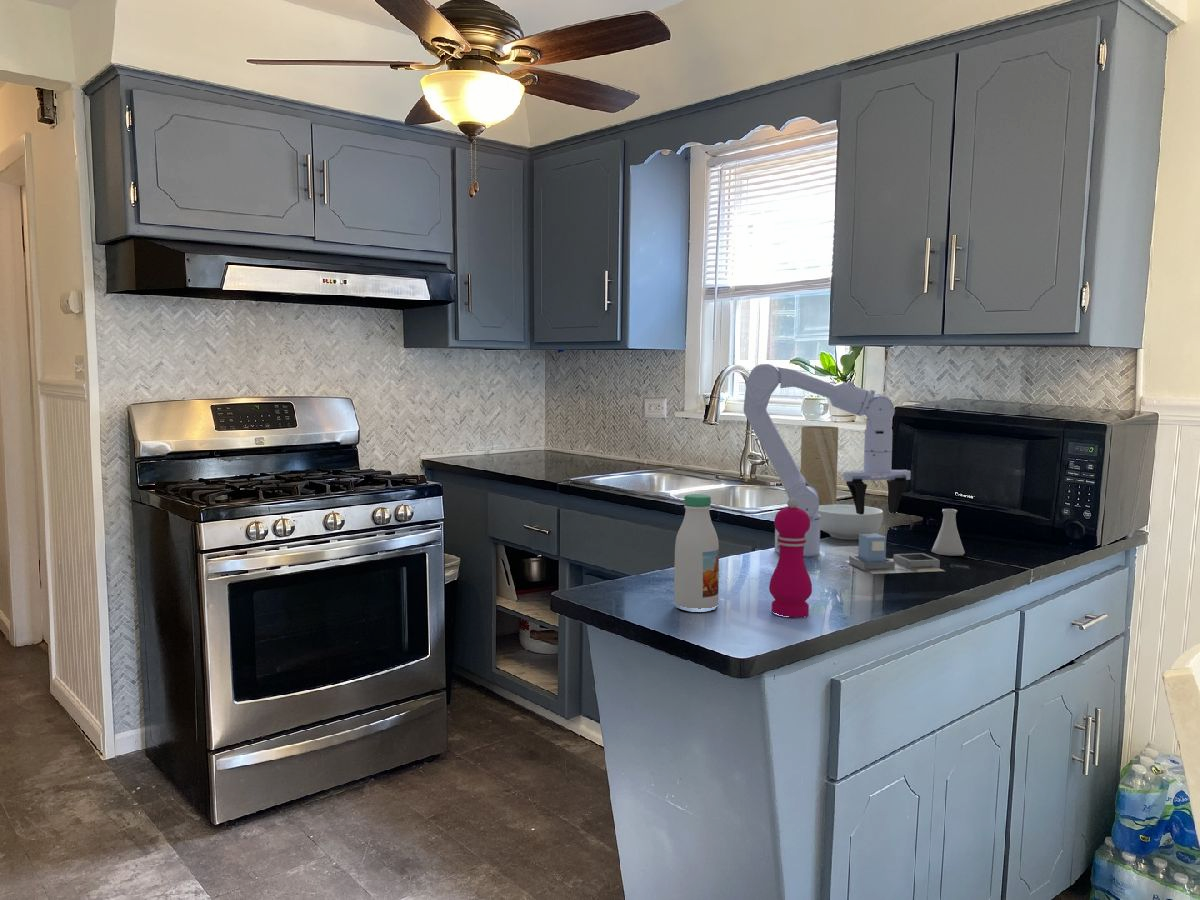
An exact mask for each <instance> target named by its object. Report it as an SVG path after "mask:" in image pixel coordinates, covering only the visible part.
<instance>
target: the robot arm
mask: <svg viewBox="0 0 1200 900" xmlns="http://www.w3.org/2000/svg"><path fill="white" fill-rule="evenodd" d="M746 379H747V380H746V381H745V392H744V403H743V412H744V413H743V414H744V416H745V417H746V419H747V421H748V423H749V425H750V426H751V428H752V431H753V432H754V433H755V436H756V438H757V439H758V441H759V443H760V445H761V447H762V449H763V451H764V452H765V453H766V456H767V457H768V459H769V461H770V463H771V465H772V467H773V469H774V470H775V472H776V474H777V476H778V478H779V479H780V481H781V483H782V486H783V488H784V491H785V493H786V495H787V497H788V500H789V499H791V498H794V499H796V500H797V502H798V506H797V507H796V508H800V509H802V510H804V511H805V512H806V513H807V514H808V516H809V518H810V528H809V530H808V531H807V532H806V533H805V536H806V537H807V539H806V542H807V544H806V545H805V546H804V551H803V555H804V557H809V556H810V557H812V556H818V555H820V551H821V549H820V548H821V546H820V545H821V529H820V517H821V515H819V514H818V513H817V511H818V508H819V496H818V493H817V491H816V490H815V489H814V488H813V487H812V486H810V485H809V484H808V483H807V482H806V480H805V478H804V476H803V475H802V474H801V469H799V467H798V464H797V463H796V462H795V460H794V458H793V456H792V454H791V452H790V450H789V449H788V446H787V445H786V444H785V442H784V440H783V438H782V436H781V434H780V433H779V430H778V429H777V426H776V425H775V423H774V421H773V420H772V418H771V416H770V414H769V412H768V410H767V408H768V405H769V403H770V399H771V396H772V394H773V393H774V391H776V389H777V387H778V385H779V384H780V386H779V388H780V389H786V388H798V389H800V390H803V391H805V392H809V393H813V394H816V395H818V396H821V397H824V398H827V399H828V400H829V401H830V404H831V406H832V407H834V408H837V409H839V410H842V411H845V412H848V413H850V414H854V415H856V416H858V417H861V416H865V417H866V418H865V419H866V421H865V424H866V425H865V429H864V445H863V446H864V448H863V450H864V452H863V469H860V470H850V471H849V470H848V471H844V472H843V473H844V474H843V481H845V482H846V483H845V484H846V486H847V488H848V489H849V491H850V494H851V496H852V499H853V503H854V505H855V507H856V513H858V514H861V515H862V514H864V506H865V497H866V491H867V487H868V485H867V483H864V481H885V480H886V484H887V489H888V512H889V513H892V514H897V512H898V508H899V504H900V502H901V499H902V497H903V496H904V495H903V494H904V493H905V491H906V489H907V488H908V487H909V480H911V470H908V469H892V459H893V457H892V456H893V429H892V427H893V417H894V416H895V412H896V409H895V407H894V403H893V402H892V400H891V399H890V398H888V397H887V396H885V395H882V394H880V393H877V394H876V390H874V389H870V390H869V389H868V390H867V389H865V388H862V387H859V386H855V383H854V382H853V381H850V380H848V381H847V382H845V381H840V382H838V383H836V384H832V383H830V382H827V381H824V380H821V379H820V378H816V377H813V376H811V375H809V374H808V373H807V374H806V373H804V372H801V371H798V370H796V369H793V368H787V367H782V366H778V365H777V366H775V365H773V364H770V363H760V364H758V365H756V366H754V367H753V368H752V370H751V371H750V373H749V375H748V377H747V378H746ZM777 535H779V533H778V531H777V530H776V528H775V527H774V552H777V553H779V552H780V550H779V544H777V539H778V538H777Z"/></svg>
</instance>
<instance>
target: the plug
mask: <svg viewBox="0 0 1200 900" xmlns="http://www.w3.org/2000/svg"><path fill="white" fill-rule="evenodd" d="M886 552H887V536H884V535H882V534H880V533H876V532H874V533H871V534H859V539H858V553H857V554H858V555H857V556H858V559H860V560H862V561H864V562H885V559H886V556H887V555H886V554H887V553H886Z"/></svg>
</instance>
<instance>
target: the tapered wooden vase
mask: <svg viewBox="0 0 1200 900" xmlns="http://www.w3.org/2000/svg"><path fill="white" fill-rule="evenodd" d="M800 437H801V440H800V442H801V443H800V472H801V474H802V475H803V476H804V478H805V480H806V482H807V483H808V484H809V485H810V486H812V487H813V488H814V489H815V490H816V491H817V493H818V496H819V506H821V505H837V493H838V492H837V487H838V486H837V485H838V459H839V458H838V456H839V455H838V453H839V452H838V450H839V427H838V426H827V425H826V426H825V425H824V426H823V425H804V426H801V434H800Z"/></svg>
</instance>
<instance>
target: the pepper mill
mask: <svg viewBox="0 0 1200 900" xmlns="http://www.w3.org/2000/svg"><path fill="white" fill-rule="evenodd" d="M797 506H798V502H797V500H796V499H794V498H791V499H789V498H788V500H787V507H784V508H781V509H780V510H779V511H777V513H776V515H775V517H774V520H773V522H774V523H773V524H774V525H773V526H774V529H775V528H776V530H777V531H778V533H779V535H777V538H778V539H777V544H779V550H780V552H779V555H778V560H777V564H776V566H775V569H774V571H773V573H772V575H771V576H770V581H769V587H768V589H769V594H770V595H771V596H772V598H774V600H772V602H771V612H772V611H773V612H774V613H777V614H779V615H783V616H789V617H802V618H805V617H804V616H806V617H808V615H809V612H810V611H809V609H810V608H809V607H810V606H809V605H810V604H809V603H808V602H807V601H808V599H809V598H810V597H811V596H812V593H813V586H812V585H813V584H812V581H811V577H810V574H809V572H808V569H807V566H806V563H805V560H804V559H805V558H804V557H805V556H804V555H803V551H804V546H805V545H806V544H807V542H806V539H807V537H806V536H805V533H806V532H807V531H808V530H809V528H810V518H809V516H808V514H807V513H806V512H805V511H804V510H802V509H800V508H796V507H797Z"/></svg>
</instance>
